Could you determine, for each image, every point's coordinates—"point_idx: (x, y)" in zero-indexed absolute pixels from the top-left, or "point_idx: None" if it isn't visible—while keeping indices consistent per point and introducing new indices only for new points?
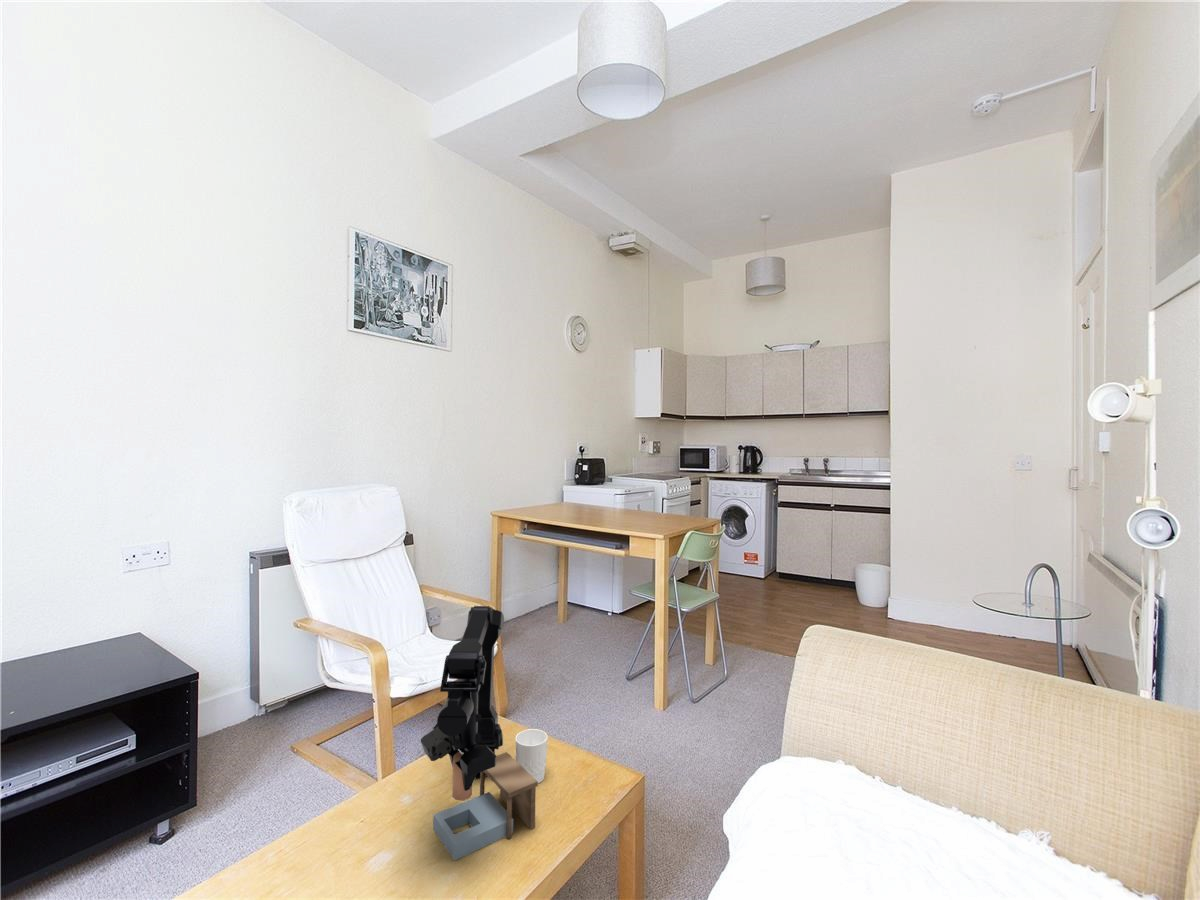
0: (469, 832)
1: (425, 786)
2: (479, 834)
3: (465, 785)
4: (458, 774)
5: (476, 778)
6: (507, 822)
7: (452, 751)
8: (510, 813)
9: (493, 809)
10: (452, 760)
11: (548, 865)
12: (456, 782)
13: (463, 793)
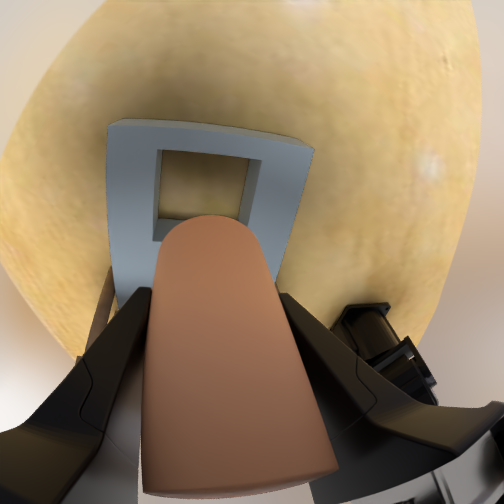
0: (134, 194)
1: (424, 219)
2: (108, 215)
3: (119, 314)
4: (170, 356)
5: (349, 306)
6: (103, 294)
7: (382, 460)
8: (93, 318)
9: None
10: (347, 395)
11: (17, 281)
12: (186, 290)
13: (157, 268)
